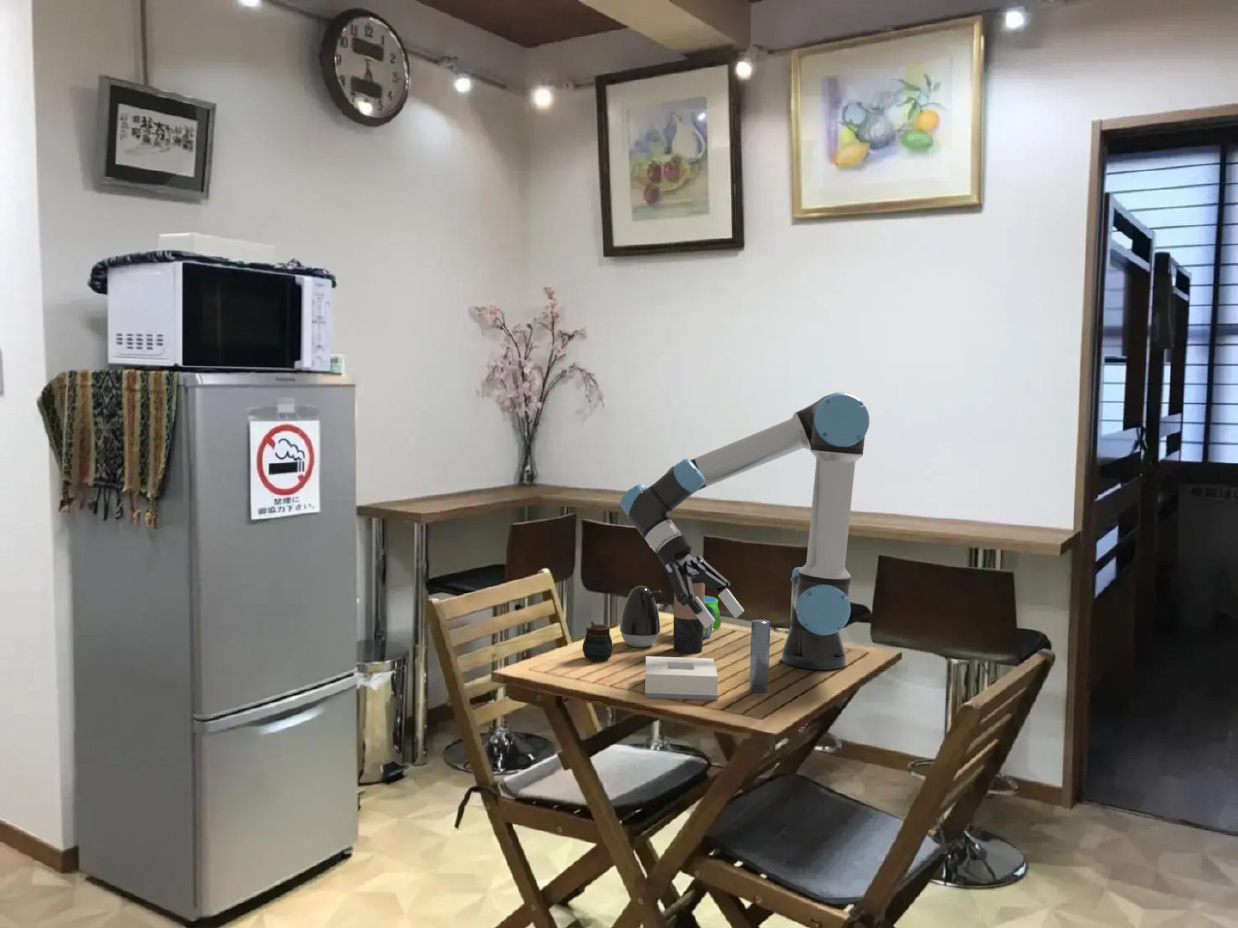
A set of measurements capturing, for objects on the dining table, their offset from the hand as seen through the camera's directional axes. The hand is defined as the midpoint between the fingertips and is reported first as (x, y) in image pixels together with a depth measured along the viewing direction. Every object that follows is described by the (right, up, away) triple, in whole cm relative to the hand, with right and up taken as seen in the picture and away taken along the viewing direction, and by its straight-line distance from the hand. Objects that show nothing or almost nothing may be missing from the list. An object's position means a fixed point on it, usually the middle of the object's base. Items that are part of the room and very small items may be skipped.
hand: (725, 619), depth 219 cm
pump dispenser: (-18, -12, +35) cm, 41 cm away
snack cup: (-3, -12, +47) cm, 48 cm away
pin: (+7, -15, -3) cm, 17 cm away
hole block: (-10, -14, -4) cm, 18 cm away
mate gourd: (-29, -13, +20) cm, 37 cm away
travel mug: (-6, -13, +31) cm, 34 cm away
